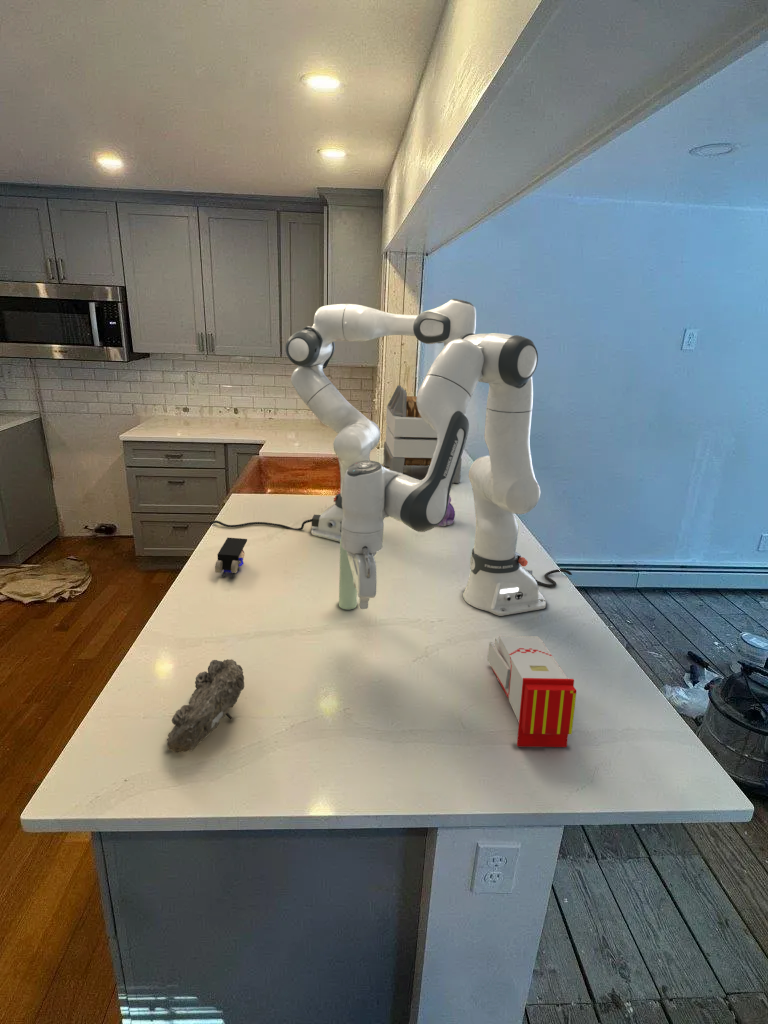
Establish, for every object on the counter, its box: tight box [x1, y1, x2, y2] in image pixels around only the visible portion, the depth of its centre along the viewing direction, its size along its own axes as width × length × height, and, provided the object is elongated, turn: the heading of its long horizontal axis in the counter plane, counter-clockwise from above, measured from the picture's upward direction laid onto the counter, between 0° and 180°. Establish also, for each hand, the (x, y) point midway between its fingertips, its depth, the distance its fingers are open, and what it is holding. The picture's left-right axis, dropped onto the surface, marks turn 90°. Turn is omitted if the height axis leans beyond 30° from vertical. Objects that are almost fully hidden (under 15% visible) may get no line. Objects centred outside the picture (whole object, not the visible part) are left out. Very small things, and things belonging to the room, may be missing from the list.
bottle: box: [338, 538, 358, 611], centre depth 147 cm, size 5×5×23 cm
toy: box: [486, 635, 577, 748], centre depth 115 cm, size 12×13×30 cm
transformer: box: [383, 384, 463, 484], centre depth 268 cm, size 34×33×41 cm
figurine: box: [437, 494, 456, 527], centre depth 210 cm, size 9×10×15 cm
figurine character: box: [214, 537, 248, 578], centre depth 166 cm, size 7×8×15 cm
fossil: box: [166, 658, 245, 754], centre depth 106 cm, size 22×10×15 cm
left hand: (454, 403), depth 174 cm, fingers open, 8 cm apart
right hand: (360, 596), depth 124 cm, fingers open, 8 cm apart
